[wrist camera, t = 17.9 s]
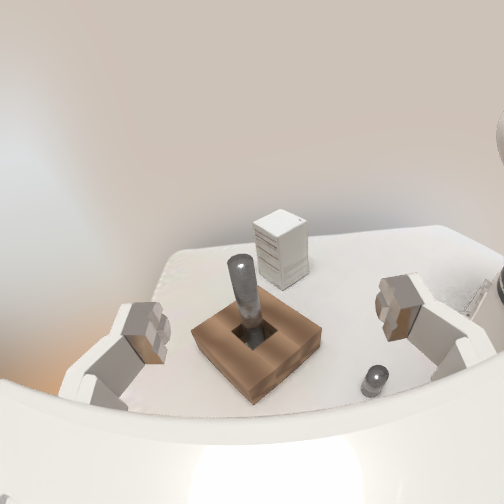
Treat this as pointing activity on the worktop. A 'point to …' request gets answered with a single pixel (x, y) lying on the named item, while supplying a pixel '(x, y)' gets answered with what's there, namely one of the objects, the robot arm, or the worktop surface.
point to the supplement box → (281, 247)
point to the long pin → (247, 298)
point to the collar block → (266, 354)
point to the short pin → (374, 381)
